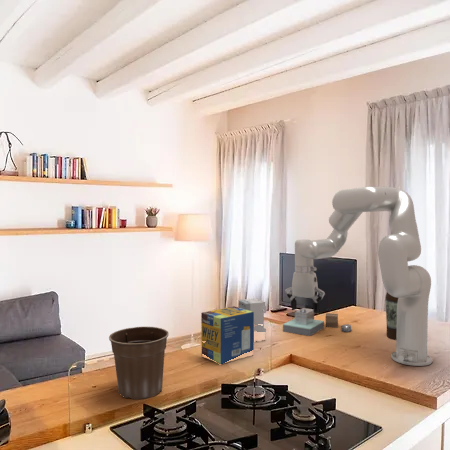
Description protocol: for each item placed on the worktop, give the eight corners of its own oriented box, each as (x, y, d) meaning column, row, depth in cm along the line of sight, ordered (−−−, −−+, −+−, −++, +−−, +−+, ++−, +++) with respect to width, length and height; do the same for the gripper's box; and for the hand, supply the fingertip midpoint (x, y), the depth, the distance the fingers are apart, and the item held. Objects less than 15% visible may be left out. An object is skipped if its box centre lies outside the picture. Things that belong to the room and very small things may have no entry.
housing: (314, 321, 191) (314, 307, 191) (306, 325, 184) (306, 311, 184) (303, 319, 194) (303, 306, 193) (294, 323, 187) (294, 309, 187)
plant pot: (124, 409, 116) (123, 346, 115) (101, 388, 129) (100, 332, 129) (179, 393, 126) (179, 335, 125) (152, 375, 139) (152, 323, 138)
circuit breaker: (224, 339, 176) (223, 301, 175) (257, 335, 181) (257, 298, 180) (231, 345, 169) (231, 305, 168) (265, 340, 174) (265, 302, 173)
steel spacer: (343, 329, 190) (342, 324, 190) (352, 328, 188) (351, 324, 188) (340, 332, 186) (339, 327, 186) (350, 331, 184) (349, 327, 184)
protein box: (200, 357, 156) (200, 312, 155) (234, 348, 165) (234, 305, 165) (220, 365, 148) (220, 318, 147) (254, 355, 157) (254, 310, 157)
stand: (310, 336, 180) (310, 328, 180) (282, 331, 187) (282, 324, 187) (323, 328, 192) (323, 321, 191) (297, 323, 198) (297, 317, 198)
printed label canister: (397, 331, 185) (397, 270, 184) (420, 338, 176) (421, 274, 175) (379, 335, 180) (380, 273, 179) (402, 342, 171) (403, 276, 170)
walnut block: (337, 328, 192) (337, 316, 192) (325, 327, 193) (325, 315, 193) (337, 325, 197) (337, 313, 196) (325, 324, 198) (326, 313, 198)
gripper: (327, 269, 186) (328, 311, 187) (289, 267, 196) (290, 307, 196) (320, 271, 180) (320, 314, 180) (281, 269, 190) (281, 310, 190)
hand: (304, 310), depth 188 cm, fingers open, 9 cm apart
